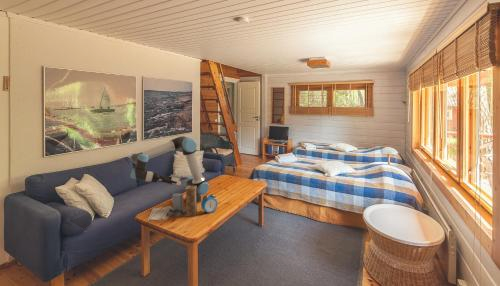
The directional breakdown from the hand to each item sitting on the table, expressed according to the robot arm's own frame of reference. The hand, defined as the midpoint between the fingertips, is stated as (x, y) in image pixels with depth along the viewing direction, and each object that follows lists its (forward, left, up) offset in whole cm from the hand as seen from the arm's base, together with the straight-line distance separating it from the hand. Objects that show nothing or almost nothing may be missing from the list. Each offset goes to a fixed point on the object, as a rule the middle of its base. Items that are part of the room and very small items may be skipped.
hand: (180, 181), depth 210 cm
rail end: (-7, -12, -29) cm, 33 cm away
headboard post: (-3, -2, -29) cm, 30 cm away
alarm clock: (-20, +13, -30) cm, 38 cm away
